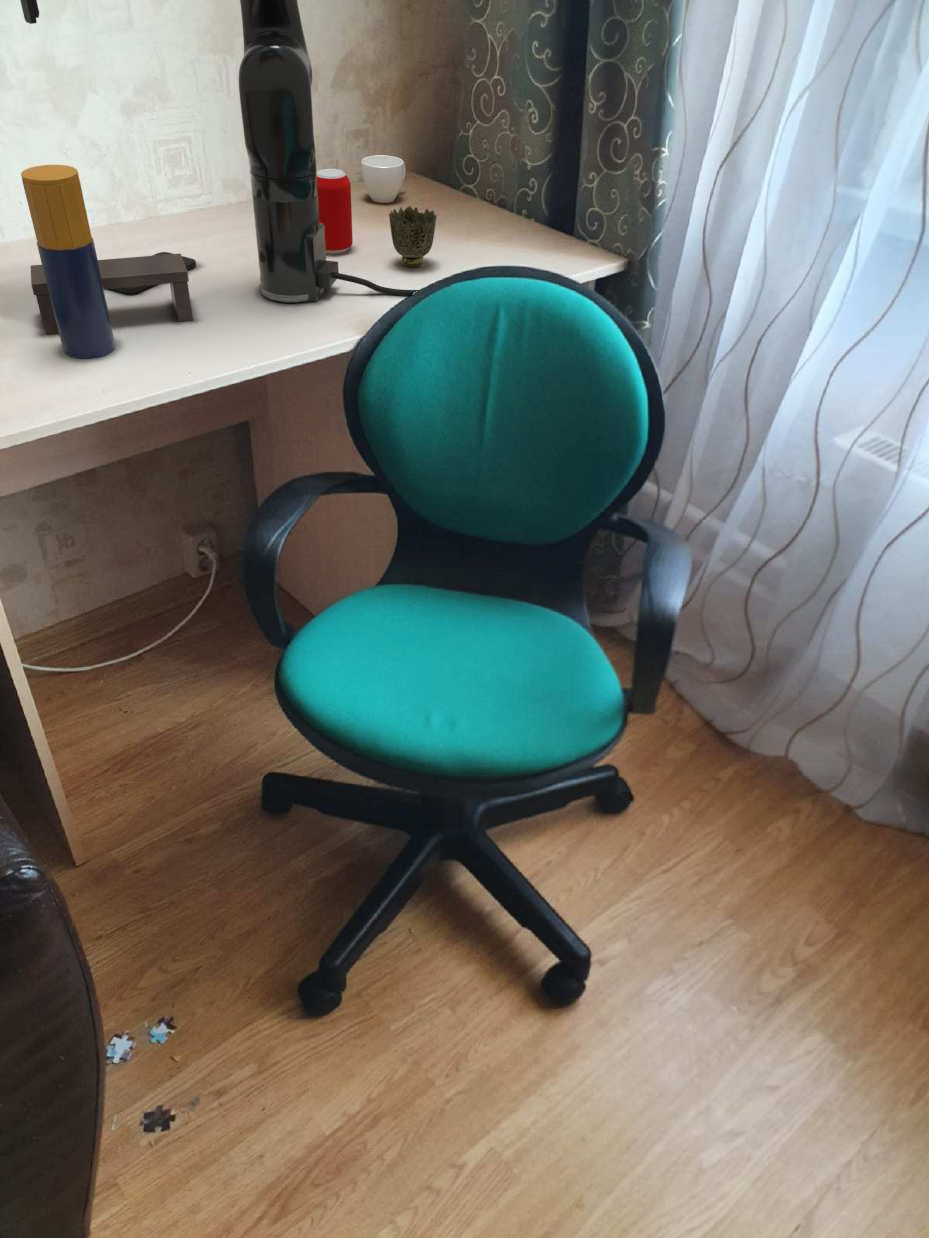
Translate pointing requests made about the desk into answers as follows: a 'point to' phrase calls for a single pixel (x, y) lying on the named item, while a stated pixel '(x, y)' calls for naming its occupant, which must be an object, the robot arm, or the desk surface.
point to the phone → (188, 263)
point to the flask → (78, 301)
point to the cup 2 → (412, 234)
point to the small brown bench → (125, 282)
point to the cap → (57, 207)
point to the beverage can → (335, 209)
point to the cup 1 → (383, 177)
